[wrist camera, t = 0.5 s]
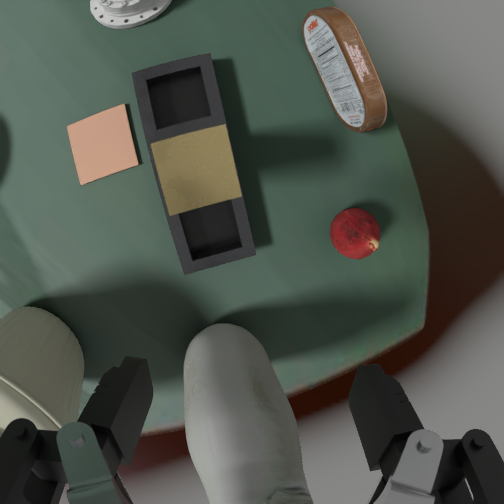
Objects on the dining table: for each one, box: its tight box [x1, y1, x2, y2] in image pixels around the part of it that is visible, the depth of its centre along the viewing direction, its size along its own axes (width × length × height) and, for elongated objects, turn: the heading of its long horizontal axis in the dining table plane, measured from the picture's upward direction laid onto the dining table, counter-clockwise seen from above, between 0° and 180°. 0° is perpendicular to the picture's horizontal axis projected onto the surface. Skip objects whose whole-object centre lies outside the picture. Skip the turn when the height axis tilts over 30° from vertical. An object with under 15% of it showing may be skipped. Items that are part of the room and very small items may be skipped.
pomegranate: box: [330, 208, 380, 259], centre depth 32 cm, size 6×6×8 cm
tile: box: [67, 104, 139, 185], centre depth 27 cm, size 7×7×1 cm
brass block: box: [151, 124, 242, 216], centre depth 23 cm, size 4×4×14 cm
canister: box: [0, 306, 84, 437], centre depth 23 cm, size 18×18×21 cm
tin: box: [302, 6, 387, 133], centre depth 25 cm, size 15×3×8 cm, turn 24°
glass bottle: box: [184, 323, 313, 504], centre depth 25 cm, size 10×10×28 cm
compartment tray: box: [132, 53, 256, 275], centre depth 29 cm, size 22×8×2 cm, turn 12°
